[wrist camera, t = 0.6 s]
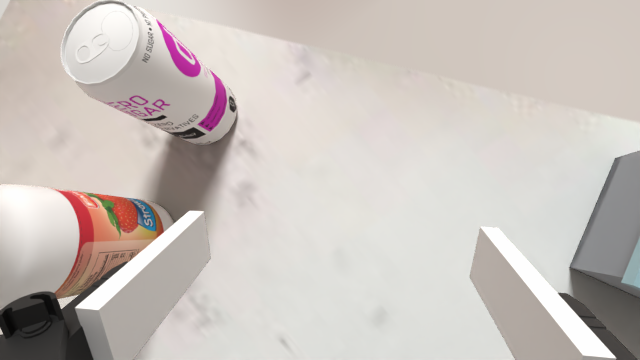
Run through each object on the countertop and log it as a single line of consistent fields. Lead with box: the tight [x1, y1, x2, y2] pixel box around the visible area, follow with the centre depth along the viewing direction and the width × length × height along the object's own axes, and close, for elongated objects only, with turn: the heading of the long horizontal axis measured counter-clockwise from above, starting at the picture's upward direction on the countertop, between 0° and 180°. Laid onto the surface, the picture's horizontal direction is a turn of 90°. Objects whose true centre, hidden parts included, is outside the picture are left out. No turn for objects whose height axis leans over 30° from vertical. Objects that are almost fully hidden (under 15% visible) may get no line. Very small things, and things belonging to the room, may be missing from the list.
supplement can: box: [61, 0, 237, 145], centre depth 30 cm, size 8×8×15 cm
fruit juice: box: [0, 184, 174, 310], centre depth 23 cm, size 9×9×28 cm
